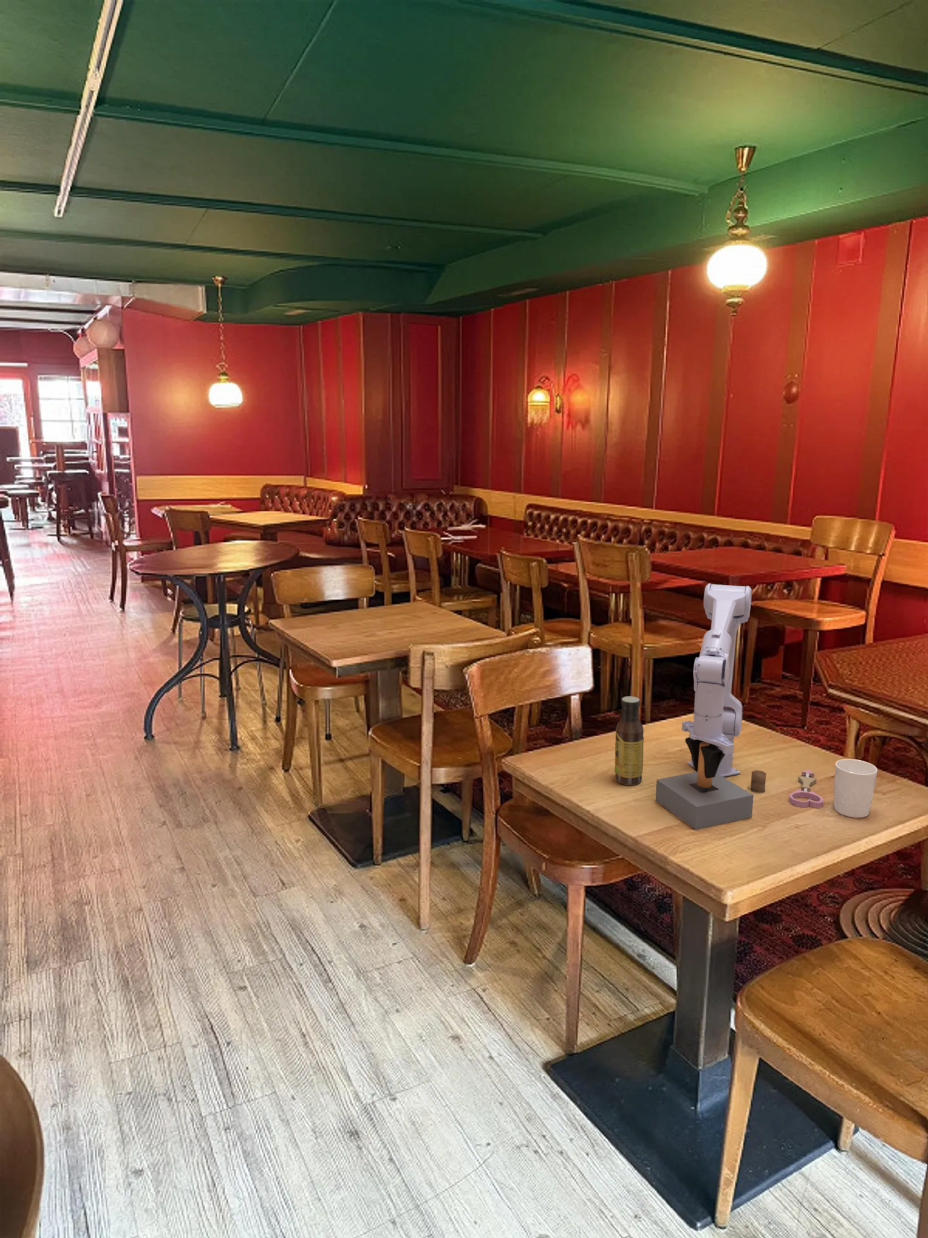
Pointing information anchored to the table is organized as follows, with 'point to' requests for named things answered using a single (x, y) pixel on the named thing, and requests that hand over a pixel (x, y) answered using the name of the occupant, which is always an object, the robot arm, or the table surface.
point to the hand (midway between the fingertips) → (704, 773)
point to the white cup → (854, 787)
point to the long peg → (702, 770)
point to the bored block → (704, 800)
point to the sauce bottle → (629, 743)
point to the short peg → (758, 781)
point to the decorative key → (806, 792)
